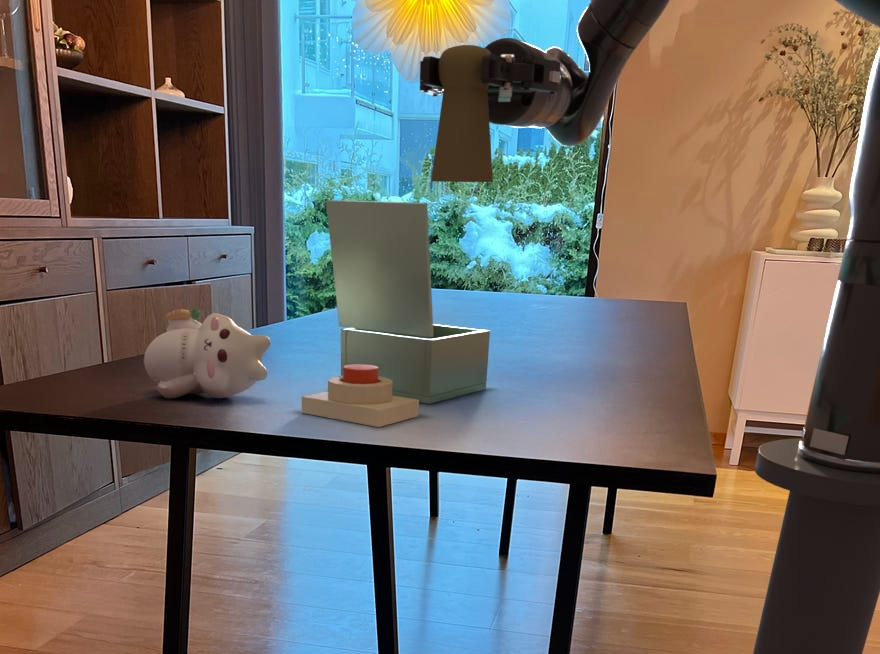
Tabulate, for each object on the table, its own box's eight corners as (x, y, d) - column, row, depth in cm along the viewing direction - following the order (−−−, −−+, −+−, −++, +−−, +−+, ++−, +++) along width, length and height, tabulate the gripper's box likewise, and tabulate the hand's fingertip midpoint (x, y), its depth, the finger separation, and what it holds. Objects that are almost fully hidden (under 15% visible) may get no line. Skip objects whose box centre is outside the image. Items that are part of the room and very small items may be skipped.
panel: (418, 416, 93) (419, 382, 92) (379, 427, 88) (379, 391, 87) (343, 403, 99) (343, 370, 97) (301, 412, 93) (301, 378, 92)
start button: (384, 384, 92) (385, 366, 92) (363, 388, 90) (364, 370, 89) (357, 380, 94) (357, 362, 94) (335, 384, 92) (335, 366, 91)
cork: (504, 182, 87) (511, 48, 82) (474, 182, 83) (480, 40, 78) (450, 181, 90) (454, 51, 85) (419, 181, 86) (421, 44, 81)
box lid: (329, 199, 96) (325, 200, 95) (427, 202, 89) (424, 203, 89) (342, 325, 103) (338, 326, 103) (433, 336, 97) (430, 337, 96)
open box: (401, 376, 115) (403, 320, 112) (486, 389, 109) (490, 330, 106) (340, 389, 106) (340, 329, 103) (429, 404, 99) (432, 340, 97)
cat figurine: (131, 302, 97) (257, 293, 92) (171, 336, 105) (289, 328, 100) (122, 387, 96) (248, 381, 91) (162, 414, 104) (281, 410, 99)
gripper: (455, 46, 95) (384, 22, 81) (588, 40, 90) (535, 14, 76) (452, 127, 98) (383, 118, 85) (580, 126, 93) (528, 116, 79)
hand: (455, 69), depth 80 cm, fingers closed on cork, 5 cm apart
